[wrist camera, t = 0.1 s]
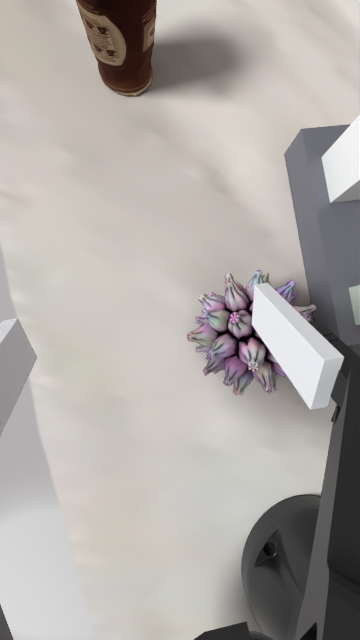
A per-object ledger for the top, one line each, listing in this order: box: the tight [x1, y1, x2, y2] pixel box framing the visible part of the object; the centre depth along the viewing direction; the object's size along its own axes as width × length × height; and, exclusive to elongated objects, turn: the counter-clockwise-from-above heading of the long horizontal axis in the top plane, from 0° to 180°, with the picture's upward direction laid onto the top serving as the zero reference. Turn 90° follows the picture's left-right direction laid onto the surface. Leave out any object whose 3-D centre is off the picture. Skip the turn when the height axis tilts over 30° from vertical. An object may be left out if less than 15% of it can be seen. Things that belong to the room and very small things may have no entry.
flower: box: [187, 270, 317, 395], centre depth 25 cm, size 12×12×12 cm
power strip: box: [284, 124, 360, 356], centre depth 30 cm, size 34×8×5 cm, turn 9°
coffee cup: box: [76, 0, 157, 96], centre depth 26 cm, size 9×8×13 cm
